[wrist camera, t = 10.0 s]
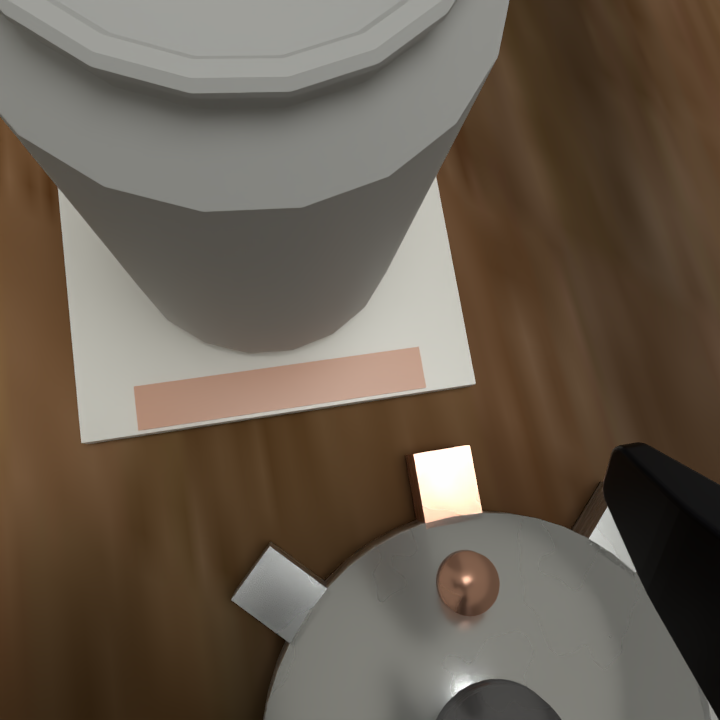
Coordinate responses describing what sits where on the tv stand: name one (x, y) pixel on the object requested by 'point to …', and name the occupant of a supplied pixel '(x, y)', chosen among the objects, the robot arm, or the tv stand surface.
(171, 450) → the tv stand surface
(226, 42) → the can
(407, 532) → the sprocket
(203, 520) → the tv stand surface
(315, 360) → the pad
